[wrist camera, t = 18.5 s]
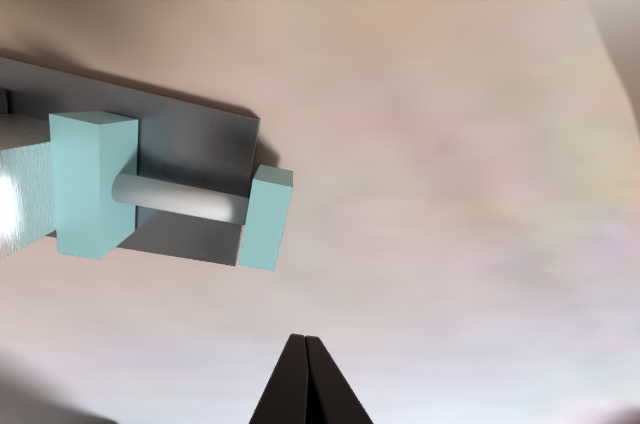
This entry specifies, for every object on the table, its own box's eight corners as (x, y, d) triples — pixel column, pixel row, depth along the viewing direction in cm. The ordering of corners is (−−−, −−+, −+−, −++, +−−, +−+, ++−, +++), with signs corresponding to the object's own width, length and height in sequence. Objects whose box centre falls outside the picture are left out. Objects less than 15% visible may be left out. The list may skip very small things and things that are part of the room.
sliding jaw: (296, 155, 18) (296, 168, 15) (274, 254, 20) (271, 285, 17) (99, 110, 16) (48, 113, 13) (100, 225, 18) (58, 253, 15)
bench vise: (260, 119, 18) (250, 125, 14) (237, 260, 21) (223, 300, 17) (-46, 44, 15) (-177, 23, 11) (-19, 218, 19) (-112, 253, 14)
